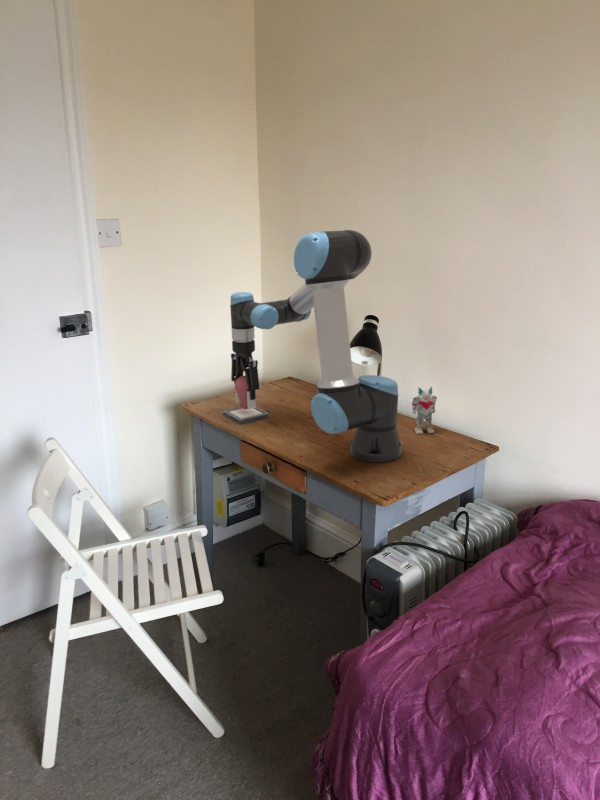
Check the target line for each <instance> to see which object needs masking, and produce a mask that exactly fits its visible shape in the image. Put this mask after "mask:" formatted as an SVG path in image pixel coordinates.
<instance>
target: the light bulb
mask: <svg viewBox="0 0 600 800" xmlns="http://www.w3.org/2000/svg"><path fill="white" fill-rule="evenodd" d="M234 390H235V393H236V392H237V394H238V396H239V397H240V403H239V406H240V408H241V409H245V410H246V409H248V403H247V390H249V389H248V385H247V380H246V376H245V375H243V376H241V377H239V378H238V379H237V380H236V382H235V384H234Z"/></svg>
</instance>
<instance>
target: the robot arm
mask: <svg viewBox="0 0 600 800" xmlns="http://www.w3.org/2000/svg"><path fill="white" fill-rule="evenodd" d="M371 258H372V247H371V244H370V242H369V240H368V239H367V238H366V236H365V235H364V234H362V233H361V232H360V231H356V230H352V229H345V230H328V231H327V230H326V231H323V230H322V231H315V232H311V233H310V232H309V233H306V234H304V235H303V236H302V237H300V239H299V240H298V243H297V244H296V246H295V248H294V253H293V266H294V270H295V272H297V275H298V276H299V278H301V279H303V280H304V281H305V283H304V284H303V285H301V286H300V287H299V288H298V289H297V290H296V291H295V292H294V293H292V294H291V295H290V296H289V297H287V298H286V299H282V300H281V299H279V300H274V301H273V300H272V301H267V302H256V301H255V298H254V294H253V293H251V292H246V291H245V292H244V291H243V292H242V291H241V292H234V293H232V294H231V295H230V304H229V307H230V320H231V321H230V322H231V328H230V329H231V340H232V341H231V343H232V344H231V345H232V347H231V349H232V352H233V353H231V354H230V357H231V375H230V379H231V381H232V382H233V384H234V385H235V382H236V380H237V379H238V378H239V377H241V376H246V380H247V385H248V389H249V390H247V403H248V409H253V408H256V407H257V405H256V404H257V403H256V390H260V382H259V370H258V366H259V365H258V364H259V362H258V360H257V359H256V360H255V359H253V353H254V352H255V351H256V342H255V337H256V336H255V331H256V329H255V327H256V328H257V329H261V330H270V329H273V328H274V327H275V326H277V325H283V324H289V323H299V322H302V321H306V320H307V319H309V318H310V315H311V313H312V309H314V319H315V329H316V337H317V339H316V340H317V345H318V354H319V363H320V364H319V365H320V373H321V380H320V381H319V383H317V393H316V394H315V395H314V396H313V397H312V399H311V402H310V411H311V415H312V417H313V419H314V422H315V423H316V425H317V426H318V427H319V428H320V429H321V430H322V431H324V432H325V433H327V434H338V433H345V432H347V431H349V430H353V429H355V431H354V434H353V438H352V441H351V442H350V445H349V447H350V448H349V452H350V454H351V456H352V457H354V458H355V459H357V460H360V461H364V462H368V463H387V462H388V463H389V462H391V461H394V460H397V459H399V458H400V457H401V455H402V450H403V449H402V448H403V447H402V443H401V442H400V440H401V439H400V437H399V434H398V433H399V432H398V429H397V425H398V424H397V423H398V419H397V418H398V403H399V401H398V399H399V385H398V382H397V381H395V379H392V378H390V377H386V376H381V375H375V374H374V375H371V374H366V375H360V376H358V378H356V377H355V376H354V373H353V362H352V352H351V344H350V334H349V333H350V332H349V324H348V314H347V313H348V312H347V306H346V294H345V286H347V284H348V283H349V281H351V280H354V279H356V278H357V277H359V275H361V274H362V273H363V272H364V271H366V269H367V268H368V266H369V264H370V262H371V260H372V259H371ZM235 403H236V404H240V397H239V396H238V394H237V392H236V391H235Z"/></svg>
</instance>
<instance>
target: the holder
mask: <svg viewBox="0 0 600 800" xmlns="http://www.w3.org/2000/svg"><path fill="white" fill-rule="evenodd" d="M222 415H223V416H224V417H226V418H228V419H230V420H231V421H233V422H235V423H237V424H238V425H244V424H247V423H248V424H249V423H252V422H256V421H260V420H265V419H268V418H270V413H269V412H267V411H265V410H264V409H261V408H260V407H258V406H256V408H253V409H246V410H245V409H241V408H240V407H239V406H238V407H236V408H234V407H233V408H230V409H225V410H222Z"/></svg>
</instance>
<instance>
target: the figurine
mask: <svg viewBox="0 0 600 800" xmlns="http://www.w3.org/2000/svg"><path fill="white" fill-rule="evenodd" d="M432 394H433V386H430V387H429V388H428V389H426V390H423V389H422V387H420V386H418V392H417V396H415V397H413V398H412V402H411V406H412V407H411V408H412V414H413V415H416V414H417V416H416V421H415V423H416V424H415V425H416V427H415V428H414V432H415V434H416V435H418V434H419V435H421V434H422V435H423V434H424V431H423V423H424V422H425V425H426V428H425V431H426V433H428V434H435V430H434V428H432V426H433V425H432V421H433V419H432V415H433V414H435V413H436V403H437V399H438V397H437V396H436V395H432Z"/></svg>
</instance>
